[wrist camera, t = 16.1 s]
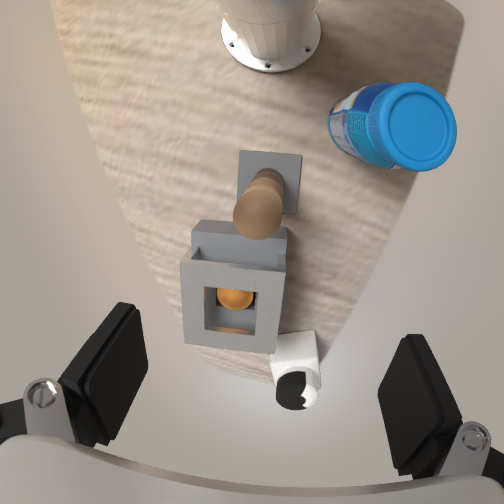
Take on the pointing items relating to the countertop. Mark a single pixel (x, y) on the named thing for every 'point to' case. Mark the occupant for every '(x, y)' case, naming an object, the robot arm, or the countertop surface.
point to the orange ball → (234, 298)
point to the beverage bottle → (395, 126)
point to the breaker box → (236, 252)
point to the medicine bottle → (296, 370)
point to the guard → (237, 278)
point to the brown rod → (260, 206)
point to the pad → (279, 161)
